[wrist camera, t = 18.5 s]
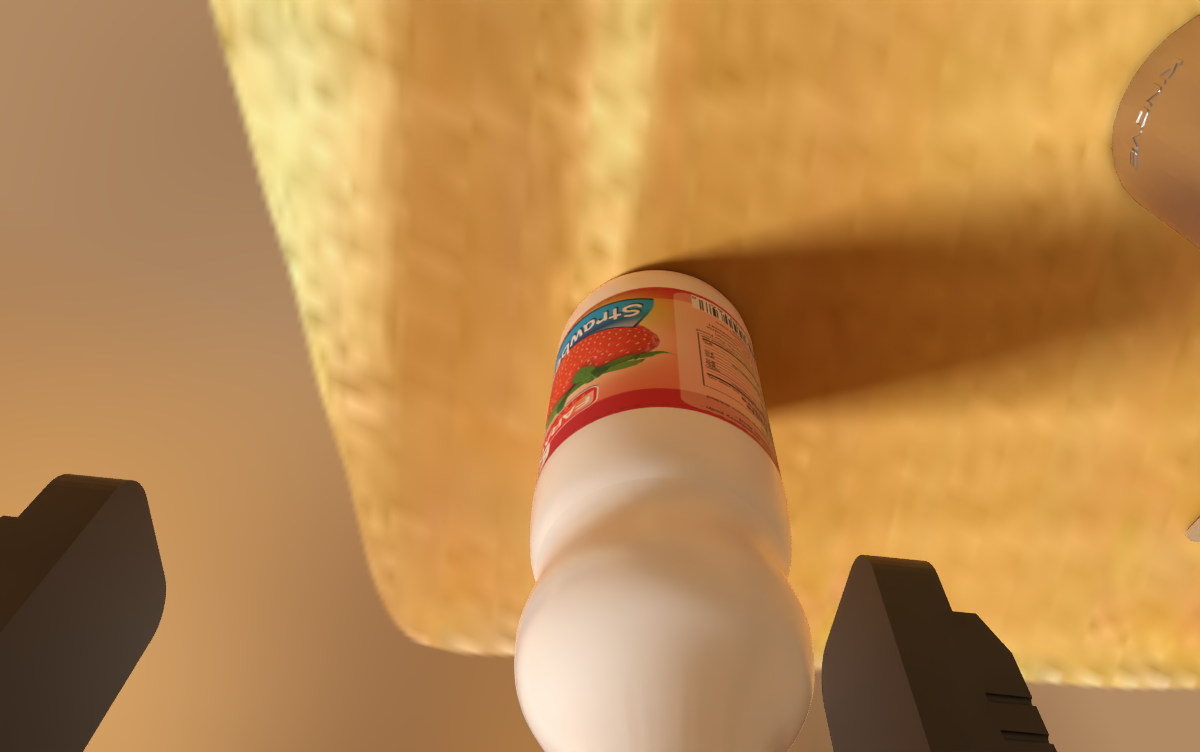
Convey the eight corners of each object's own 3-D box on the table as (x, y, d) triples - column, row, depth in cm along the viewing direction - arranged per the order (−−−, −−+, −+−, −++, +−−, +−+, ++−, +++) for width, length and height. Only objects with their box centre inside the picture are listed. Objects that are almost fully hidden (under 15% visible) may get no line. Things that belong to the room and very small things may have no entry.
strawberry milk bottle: (703, 451, 46) (770, 1106, 22) (534, 395, 45) (412, 1031, 21) (784, 302, 41) (979, 931, 18) (598, 235, 40) (534, 819, 16)
